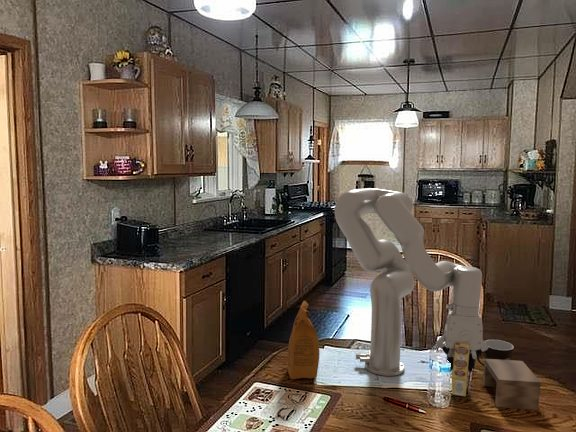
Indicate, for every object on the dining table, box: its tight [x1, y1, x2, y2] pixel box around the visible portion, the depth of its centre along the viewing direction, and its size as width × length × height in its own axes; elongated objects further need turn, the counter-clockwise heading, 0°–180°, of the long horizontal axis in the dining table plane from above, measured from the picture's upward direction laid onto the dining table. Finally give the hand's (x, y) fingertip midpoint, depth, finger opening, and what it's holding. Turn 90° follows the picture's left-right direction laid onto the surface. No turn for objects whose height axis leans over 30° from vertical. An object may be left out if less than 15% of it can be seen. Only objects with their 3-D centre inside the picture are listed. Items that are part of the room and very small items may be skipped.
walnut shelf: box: [482, 358, 542, 411], centre depth 145 cm, size 11×14×8 cm
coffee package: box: [286, 300, 320, 380], centre depth 158 cm, size 10×12×22 cm
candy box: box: [451, 343, 470, 397], centre depth 148 cm, size 9×4×15 cm, turn 163°
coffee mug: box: [476, 339, 515, 367], centre depth 159 cm, size 12×9×10 cm
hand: (459, 368), depth 148 cm, fingers closed on candy box, 4 cm apart
